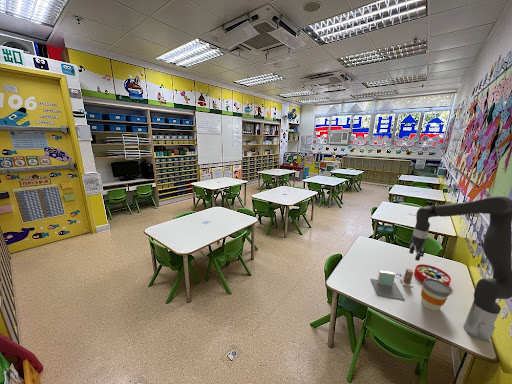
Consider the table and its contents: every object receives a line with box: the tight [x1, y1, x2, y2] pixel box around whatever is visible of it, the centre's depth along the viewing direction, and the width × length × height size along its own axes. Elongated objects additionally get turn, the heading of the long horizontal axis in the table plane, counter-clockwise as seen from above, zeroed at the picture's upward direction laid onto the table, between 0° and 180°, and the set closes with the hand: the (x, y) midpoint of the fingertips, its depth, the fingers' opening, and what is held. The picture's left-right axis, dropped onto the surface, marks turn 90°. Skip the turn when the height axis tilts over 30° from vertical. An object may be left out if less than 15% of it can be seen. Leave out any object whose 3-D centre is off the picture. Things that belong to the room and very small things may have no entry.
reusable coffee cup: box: [420, 278, 451, 312], centre depth 126 cm, size 13×13×15 cm
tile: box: [377, 270, 396, 287], centre depth 143 cm, size 2×9×10 cm, turn 76°
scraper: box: [399, 268, 414, 288], centre depth 145 cm, size 6×6×11 cm
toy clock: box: [413, 263, 452, 288], centre depth 151 cm, size 20×6×20 cm
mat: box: [370, 278, 406, 301], centre depth 140 cm, size 16×16×1 cm
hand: (413, 256), depth 140 cm, fingers open, 8 cm apart
